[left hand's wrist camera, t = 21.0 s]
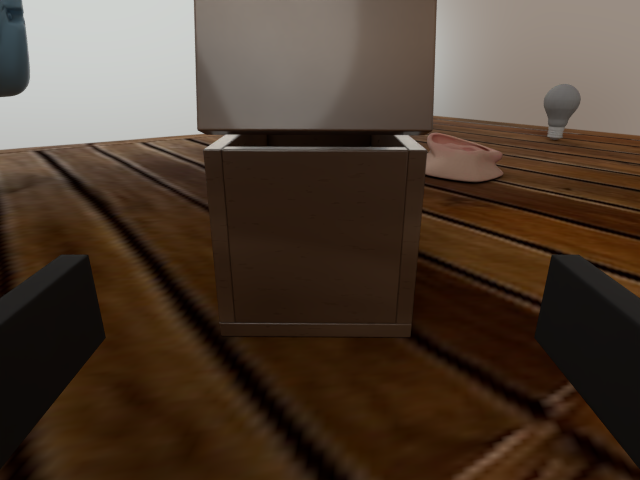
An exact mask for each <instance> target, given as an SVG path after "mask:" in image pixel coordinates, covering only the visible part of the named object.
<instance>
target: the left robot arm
mask: <svg viewBox="0 0 640 480" xmlns="http://www.w3.org/2000/svg"><path fill="white" fill-rule="evenodd" d="M29 79H30V67H29V54H28V44H27V35H26V28H25V21H24V18H23V6H22V0H0V97H7V96H14V95H17V94H20V93H21V92H23V91H24V90H25V89H26V87H27V86H28V83H29ZM105 338H106V337H105V332H104V328H103V323H102V318H101V313H100V309H99V304H98V299H97V294H96V290H95V285H94V280H93V275H92V271H91V266H90V261H89V256H88V255H60V256H59V257H57V258H56V259H55V260H53V261H52V262H50V263H49V264H48V265H46V266H45V267H43V268H42V269H41V270H39V271H38V272H36V273H35V274H34V275H32V276H31V277H29V278H28V279H27V280H25V281H24V282H22V283H21V284H20V285H18V286H17V287H15V288H14V289H13V290H11V291H10V292H8V293H7V294H6V295H4V296H3V297H1V298H0V469H1V468H2V466H3V465H4V464H5V463H6V461H7V460H8V459H9V458H10V456H11V455H12V454H13V453H14V451H15V450H16V449H17V448H18V446H19V445H20V444H21V443H22V441H23V440H24V439H25V438H26V436H27V435H28V434H29V433H30V431H31V430H32V429H33V428H34V426H35V425H36V424H37V423H38V421H39V420H40V419H41V418H42V416H43V415H44V414H45V413H46V411H47V410H48V409H49V408H50V406H51V405H52V404H53V403H54V401H55V400H56V399H57V398H58V396H59V395H60V394H61V393H62V391H63V390H64V389H65V388H66V386H67V385H68V384H69V383H70V381H71V380H72V379H73V378H74V376H75V375H76V374H77V373H78V371H79V370H80V369H81V368H82V366H83V365H84V364H85V363H86V361H87V360H88V359H89V358H90V357H91V355H92V354H93V353H94V352H95V350H96V349H97V348H98V347H99V345H100V344H101V343H102V342H103V340H104V339H105ZM534 338H535V339H536V340H537V342H538V343H539V344H540V345H541V347H542V348H543V349H544V350H545V352H546V353H547V354H548V355H549V357H550V358H551V359H552V360H553V361H554V363H555V364H556V365H557V366H558V368H559V369H560V370H561V371H562V373H563V374H564V375H565V376H566V378H567V379H568V380H569V381H570V383H571V384H572V385H573V386H574V388H575V389H576V390H577V391H578V393H579V394H580V395H581V396H582V398H583V399H584V400H585V401H586V403H587V404H588V405H589V406H590V408H591V409H592V410H593V411H594V413H595V414H596V415H597V416H598V418H599V419H600V420H601V421H602V423H603V424H604V425H605V426H606V428H607V429H608V430H609V431H610V433H611V434H612V435H613V436H614V438H615V439H616V440H617V441H618V443H619V444H620V445H621V446H622V448H623V449H624V450H625V451H626V453H627V454H628V455H629V456H630V458H631V459H632V460H633V461H634V463H635V464H636V465H637V466H638V468H639V469H640V298H639V297H637V296H636V295H634V294H633V293H632V292H630V291H629V290H627V289H626V288H625V287H623V286H622V285H620V284H619V283H618V282H616V281H615V280H613V279H612V278H611V277H609V276H608V275H606V274H605V273H604V272H602V271H601V270H599V269H598V268H597V267H595V266H594V265H592V264H591V263H590V262H588V261H587V260H585V259H584V258H583V257H581V256H580V255H552V256H551V261H550V266H549V271H548V275H547V280H546V285H545V290H544V294H543V299H542V304H541V309H540V313H539V318H538V323H537V328H536V332H535V337H534Z"/></svg>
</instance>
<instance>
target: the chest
mask: <svg viewBox="0 0 640 480" xmlns="http://www.w3.org/2000/svg"><path fill="white" fill-rule="evenodd" d="M203 152H204V162H205V173H206V183H207V194H208V204H209V215H210V225H211V235H212V246H213V256H214V267H215V277H216V288H217V298H218V309H219V319H220V331H221V336H294V337H410V336H411V323H412V314H413V303H414V292H415V281H416V270H417V259H418V248H419V237H420V227H421V216H422V205H423V194H424V183H425V172H426V161H427V150H426V149H425V148H424V147H422V146H421V145H420V144H419V143H417V142H416V141H415V140H414V139H412V138H411V137H410V136H408V135H225V136H223V137H222V138H220V139H219V140H217V141H216V142H214V143H213V144H211V145H210V146H208V147H207V148H205V149H204V150H203Z"/></svg>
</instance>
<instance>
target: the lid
mask: <svg viewBox="0 0 640 480" xmlns="http://www.w3.org/2000/svg"><path fill="white" fill-rule="evenodd" d="M436 8H437V0H194V20H195V57H196V96H197V129H198V131H200V132H202V133H204V134H207V135H426V134H428V133H429V132H431V131H432V130H433V102H434V71H435V40H436Z"/></svg>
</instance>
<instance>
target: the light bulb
mask: <svg viewBox="0 0 640 480" xmlns="http://www.w3.org/2000/svg"><path fill="white" fill-rule="evenodd" d="M579 104H580V94H579V92H578V90H577V89H576V88H575V87H573V86H571V85H568V84H561V85H558V86H555V87H554V88H552V89H551V90H550V91H549V92H548V93H547V95H546V96H545V98H544V108H545V111H546V113H547V116H548V125H549V130H548V131H549V132H548V133H549V134H548V135H547V137H549V138H550V139H554V140H557V139H560V138H562V137H563V136H562V135H563V134H562V133H563V131H564V128H565V126H566V125H567V123H568V120H569V118H570V117H571V115H572V114H573V113H574V112H575V111H576V109H577V108H578V106H579Z"/></svg>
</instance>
